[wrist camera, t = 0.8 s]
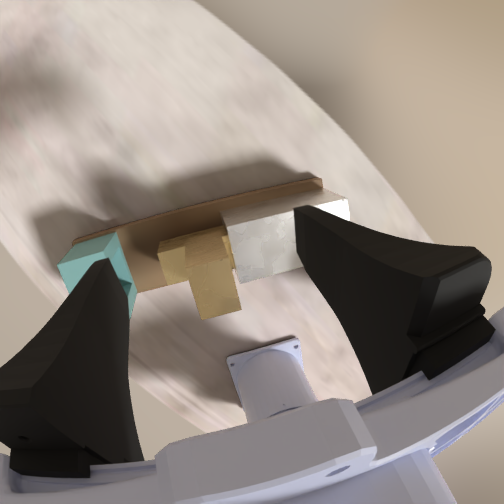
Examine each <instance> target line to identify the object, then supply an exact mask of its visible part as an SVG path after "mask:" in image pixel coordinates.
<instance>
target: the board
mask: <svg viewBox="0 0 504 504" xmlns="http://www.w3.org/2000/svg"><path fill="white" fill-rule="evenodd" d="M320 188H323V184H322V179H321V178H318V177H316V178H311V179H306V180H301V181H296V182H291V183H287V184H282V185H277V186H273V187H268V188H264V189H259V190H255V191H250V192H246V193H242V194H238V195H233V196H229V197H225V198H221V199H217V200H213V201H209V202H205V203H201V204H197V205H193V206H189V207H185V208H181V209H178V210H174V211H170V212H166V213H163V214H159V215H155V216H152V217H148V218H145V219H141V220H138V221H134V222H131V223H127V224H124V225H120V226H117V227H114V228H110V229H107V230H104V231H100V232H97V233H94V234H91V235H87V236H84V237H81V238H78V239H75V240H74V241H73V242H72V245H73V246H74V245H75V244H78V243H81V242H84V241H88V240H91V239H94V238H97V237H101V236H104V235H107V234H111V233H114V232H116V233H117V236H118V239H119V242H120V245H121V248H122V251H123V253H124V256H125V259H126V262H127V265H128V267H129V270H130V273H131V276H132V278H133V281H134V284H135V286H136V289H137V293H140V292H144V291H148V290H152V289H156V288H160V287H164V286H168V285H167V282H166V279H165V276H164V273H163V270H162V267H161V264H160V261H159V258H158V255H157V252H158V248H159V244H160V242H161V241H165V240H168V239H172V238H176V237H180V236H183V235H187V234H191V233H195V232H199V231H203V230H207V229H211V228H215V227H219V226H222V225H223V223H222V218H221V214H220V211H224V210H228V209H232V208H236V207H240V206H244V205H248V204H253V203H257V202H261V201H265V200H270V199H274V198H279V197H283V196H288V195H292V194H297V193H301V192H306V191H311V190H315V189H320ZM233 269H234V268H233ZM183 282H184V281H183ZM179 283H180V282H179ZM175 284H176V283H175ZM171 285H172V284H171Z"/></svg>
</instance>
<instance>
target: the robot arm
mask: <svg viewBox="0 0 504 504" xmlns="http://www.w3.org/2000/svg"><path fill="white" fill-rule="evenodd" d="M293 211H294V224H295V238H296V252H297V254H298V256H299V258H300V260H301V262H302V264H303V266H304V268H305V270H306V272H307V273H308V275H309V276H310V278H311V279H312V281H313V282H314V284H315V285H316V287H317V288H318V289H319V291H320V292H321V294H322V295H323V297H324V298H325V299H326V301H327V302H328V304H329V305H330V307H331V308H332V310H333V311H334V313H335V314H336V316H337V318H338V319H339V321H340V323H341V325H342V327H343V329H344V331H345V333H346V335H347V337H348V339H349V341H350V343H351V345H352V347H353V349H354V351H355V354H356V356H357V358H358V360H359V362H360V365H361V367H362V370H363V372H364V374H365V377H366V379H367V382H368V384H369V387H370V390H371V392H372V396H370V397H368V398H366V399H363V400H361V401H359V402H357V403H353V401H352V400H347V399H336V398H330V399H327V400H323V401H318V399H317V397H316V395H315V393H314V391H313V389H312V387H311V385H310V383H309V381H308V379H307V377H306V375H305V373H304V369H303V361H302V353H301V346H300V341H299V339H298V338H293V339H289V340H286V341H283V342H279V343H276V344H272V345H269V346H265V347H262V348H258V349H255V350H251V351H247V352H244V353H240V354H236V355H232V356H229V357H228V358H227V359H226V361H227V364H228V367H229V370H230V373H231V376H232V379H233V382H234V385H235V388H236V390H237V393H238V396H239V399H240V402H241V405H242V407H243V410H244V411H245V414H246V418H247V422H248V423H247V424H244V425H240V426H236V427H232V428H228V429H224V430H220V431H216V432H212V433H207V434H203V435H198V436H193V437H189V438H186V439H183V440H180V441H177V442H173V443H169V444H168V445H167V446H165V447H164V448H163V449H162V450H161V451H159V452H158V454H156V455H155V460H148V461H144V457H143V454H142V450H141V447H140V443H139V439H138V435H137V430H136V426H135V421H134V416H133V410H132V404H131V397H130V389H129V380H128V347H129V323H130V318H129V304H128V297H127V295H126V293H125V291H124V289H123V287H122V285H121V282H120V280H119V278H118V276H117V274H116V272H115V270H114V268H113V266H112V264H111V261H110V259H109V257H108V258H105V259H101V260H98V261H95V262H94V263H93V264H92V265H91V266H90V267H89V268H88V270H87V271H86V272H85V274H84V275H83V276H82V278H81V279H80V280H79V282H78V283H77V285H76V286H75V287H74V289H73V290H72V291H71V293H70V294H69V296H68V297H67V298H66V300H65V301H64V302H63V303H62V305H61V306H60V307H59V309H58V310H57V311H56V313H55V314H54V315H53V317H52V318H51V319H50V320H49V321H48V322H47V324H46V325H45V326H44V327H43V328H42V329H41V330H40V331H39V333H38V334H37V335H36V336H35V337H34V338H33V339H32V340H31V341H30V342H29V343H28V344H27V345H26V346H25V347H24V348H23V349H22V350H21V351H20V352H18V353H17V354H16V355H15V356H14V357H13V358H12V359H11V360H9V361H8V362H7V363H6V364H4V365H3V366H2V367H1V368H0V442H2V443H3V444H5V445H6V446H8V447H9V448H11V453H10V456H8V455H5V454H2V453H0V504H457V502H456V500H455V498H454V497H453V495H452V493H451V491H450V489H449V487H448V486H447V484H446V482H445V480H444V479H443V477H442V475H441V473H440V471H439V470H438V468H437V466H436V464H435V463H434V461H433V459H432V458H433V457H434V456H436V455H437V454H439V453H440V452H441V451H443V450H444V449H446V448H447V447H449V446H450V445H451V444H453V443H454V442H455V441H457V440H458V439H459V438H461V437H462V436H463V435H465V434H466V433H467V432H469V431H470V430H471V429H472V428H474V427H475V426H476V425H477V424H478V423H480V422H481V421H482V420H483V419H485V418H486V417H487V416H488V415H489V414H490V413H492V412H493V411H494V410H495V409H496V408H497V407H498V406H499V405H501V404H502V403H503V402H504V307H503V308H502V309H500V310H499V311H497V312H496V313H495V314H494V315H492V317H491V318H490V319H489V320H487V319H486V318H485V317H484V316H483V314H485V308H484V307H483V306H482V305H481V304H480V302H481V300H482V297H483V295H484V293H485V290H486V288H487V285H488V283H489V280H490V276H491V270H492V267H491V262H490V260H489V259H488V258H487V257H486V256H484V255H483V254H482V253H481V252H480V251H479V250H477V249H476V248H475V247H470V246H448V245H439V244H431V243H424V242H418V241H413V240H409V239H404V238H399V237H395V236H392V235H388V234H385V233H381V232H378V231H375V230H372V229H369V228H366V227H364V226H361V225H358V224H355V223H353V222H350V221H348V220H345V219H343V218H341V217H338V216H336V215H334V214H331V213H329V212H326V211H324V210H322V209H319V208H317V207H314V206H311V205H304V206H300V207H296V208H293ZM295 345H297V346H295ZM294 346H295V347H294ZM231 363H234V364H231Z"/></svg>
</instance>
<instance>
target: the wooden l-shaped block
mask: <svg viewBox="0 0 504 504" xmlns="http://www.w3.org/2000/svg"><path fill="white" fill-rule="evenodd" d="M157 255H158V258H159V261H160V264H161V267H162V270H163V273H164V276H165V279H166V282H167V285H171V284H175V283H179V282H183V281H187V280H189V283H190V286H191V289H192V292H193V296H194V299H195V302H196V305H197V308H198V311H199V314H200V317H201V320H204V319H208V318H212V317H216V316H220V315H224V314H227V313H231V312H235V311H239V310H242V309H241V305H240V301H239V297H238V293H237V289H236V285H235V281H234V277H233V273H232V269H233V268H236V267H235V263H234V258H233V254H232V250H231V246H230V241H229V237H228V233H227V230H226V228H225V226H224V225H222V226H219V227H215V228H211V229H207V230H203V231H199V232H195V233H191V234H187V235H183V236H180V237H176V238H172V239H168V240H165V241H161V242H160V244H159V248H158V252H157Z"/></svg>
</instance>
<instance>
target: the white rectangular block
mask: <svg viewBox="0 0 504 504" xmlns="http://www.w3.org/2000/svg"><path fill="white" fill-rule="evenodd" d="M304 205H311V206H314V207H317V208H319V209H322V210H324V211H326V212H329V213H331V214H334V215H336V216H338V217H341V218H343V219H345V220H348V221H350V219H349V208H348V198H345V197H343V196H341V195H338V194H336V193H334V192H332V191H329V190H327V189H325V188H320V189H315V190H311V191H306V192H301V193H297V194H292V195H288V196H283V197H279V198H274V199H270V200H265V201H261V202H257V203H253V204H248V205H244V206H240V207H236V208H232V209H228V210H224V211H220V214H221V218H222V223H223V225H224V226H225V228H226V230H227V233H228V237H229V241H230V246H231V250H232V254H233V258H234V263H235V267H236V268H234V269H235V272H236V274H237V277H238V280H239V282H240V284H241V283H245V282H249V281H253V280H257V279H260V278H264V277H268V276H271V275H275V274H279V273H282V272H286V271H290V270H293V269H297V268H301V267H304V266H303V264H302V262H301V260H300V258H299V256H298V254H297V252H296V238H295V224H294V211H293V208H296V207H300V206H304Z"/></svg>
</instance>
